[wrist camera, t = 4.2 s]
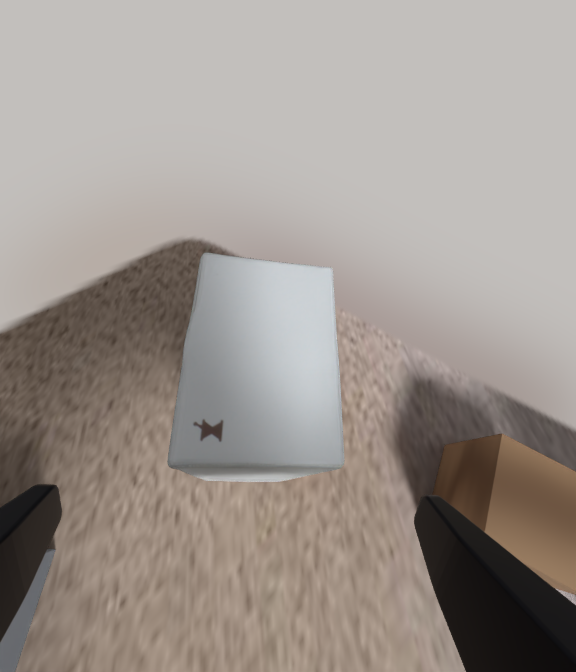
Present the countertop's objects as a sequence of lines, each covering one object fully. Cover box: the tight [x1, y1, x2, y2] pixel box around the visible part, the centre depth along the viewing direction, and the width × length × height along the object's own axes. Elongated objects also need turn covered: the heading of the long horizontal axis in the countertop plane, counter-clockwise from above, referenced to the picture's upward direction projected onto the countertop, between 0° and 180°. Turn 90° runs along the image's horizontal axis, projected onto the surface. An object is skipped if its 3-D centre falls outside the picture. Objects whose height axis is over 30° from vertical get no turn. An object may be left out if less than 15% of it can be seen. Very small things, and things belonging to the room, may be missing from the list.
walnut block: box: [432, 434, 576, 595], centre depth 17 cm, size 5×5×5 cm
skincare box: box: [168, 253, 344, 482], centre depth 14 cm, size 6×4×12 cm
